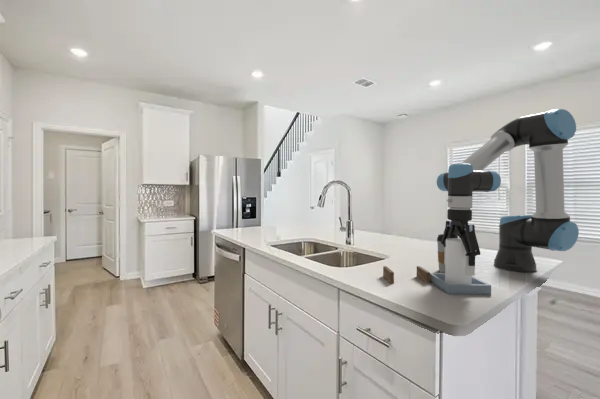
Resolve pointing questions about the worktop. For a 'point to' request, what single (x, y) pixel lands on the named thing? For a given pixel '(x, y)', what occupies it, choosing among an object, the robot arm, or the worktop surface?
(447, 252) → the cup
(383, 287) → the worktop surface
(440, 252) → the coffee cup
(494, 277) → the worktop surface
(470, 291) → the tray
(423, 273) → the clip rails
